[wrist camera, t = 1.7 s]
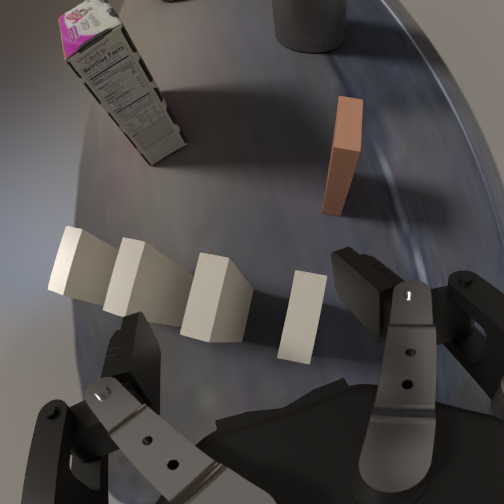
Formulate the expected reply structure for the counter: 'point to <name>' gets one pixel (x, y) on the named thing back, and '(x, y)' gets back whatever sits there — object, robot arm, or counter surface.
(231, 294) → the domino
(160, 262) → the domino
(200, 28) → the counter surface
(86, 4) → the candy bar box
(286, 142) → the counter surface
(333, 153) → the domino
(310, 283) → the domino
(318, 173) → the counter surface
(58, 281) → the domino
